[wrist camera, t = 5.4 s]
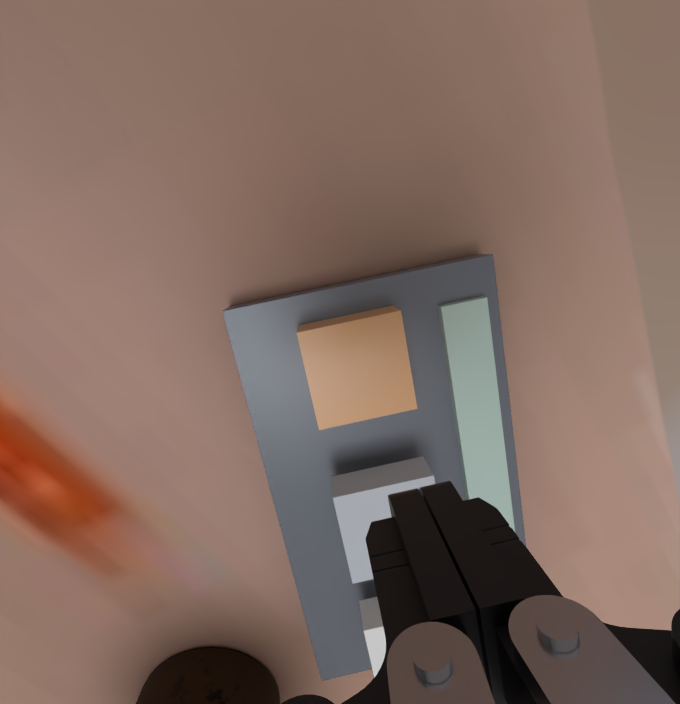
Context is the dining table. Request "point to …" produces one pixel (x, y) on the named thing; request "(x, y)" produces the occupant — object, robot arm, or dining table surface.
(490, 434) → the keypad board
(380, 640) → the key white
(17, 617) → the dining table surface
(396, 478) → the key grey
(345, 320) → the key orange
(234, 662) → the dark brown glass bottle
